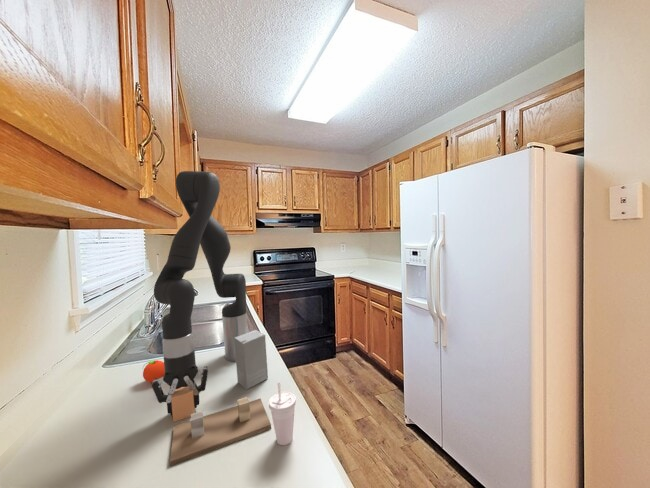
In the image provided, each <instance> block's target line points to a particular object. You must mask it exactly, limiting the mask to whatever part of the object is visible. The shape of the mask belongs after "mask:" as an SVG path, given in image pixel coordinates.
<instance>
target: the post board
mask: <svg viewBox="0 0 650 488" xmlns="http://www.w3.org/2000/svg"><path fill="white" fill-rule="evenodd" d="M236 402H237V405H235V406H233V407H229V408H225V409H223V410H219V411H216V412H213V413H210V414H207V415H203V413H204V412H203V411H204V410H201V411H195V413H193V414H191V416H190V420H188V421H184V422H181V423H179V424H175V425H174V426H173V433H172V434H173V435H172V443H171V451H170V459H169V463H170V465H169V466H170V467H172V466H174V465H177V464H179V463H182V462H185V461H187V460H190V459H193V458H196V457H198V456H201V455H204V454H206V453H209V452H211V451H214V450H216V449H219V448H222V447H225V446H228V445H230V444H233V443H235V442H239V441H242V440H244V439H247V438H249V437H252V436H254V435H257V434H259V433H262V432H265V431H268V430H270V429H272V424H271V421H270V419H269V416H268V414H267V411H266V409H265V406H264V403H263V400H262V399H261V397H260V398H257V399H254V400H251V401H250V400H249V397H248V396H245V397H242V398H240V399H237V401H236Z"/></svg>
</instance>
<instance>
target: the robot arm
mask: <svg viewBox="0 0 650 488" xmlns="http://www.w3.org/2000/svg"><path fill="white" fill-rule="evenodd" d="M175 178H176V179H175V187H176V188H175V189H176V192H177V195H178V197H179V199H180V201H181V203H182V205H183V207H184V209H185V211H186V213H187V215H188V217H189V218H188V219H187V220H186V221H185V222H184V224H183V225H182V226H181V227H180V228H179V229H178V231H177V232H176V233H175V235H174V237H173V239H172V242H171V245H170V249H169V252H168V256H167V261H166V262H165V264H164V266H163V267H162V269H161V271H160V273H159V275H158V277H157V278H156V282H155V284H154V286H153V295H154V299H155V300H156V302H158V303H159V304H163V305H169V306H170V307H169V313H167V314H166V315H164V316H163V318H162V319H161V329H162V355H163V362H164V368H165V374H164V377H162V378H159V379H157V378H156V379H154V380H153V383H151V387H152V389H153V390H152V391H153V392H154V395H155V397H156V399H157V402H158V403H159V404H162V403H166V410H167V414H168V415H169V414H170V416H173V414H172V403H171V395H173V394H174V391H175V389H179V388H181V387H187V386H189V388H190V390H192V389H193V394H194V408H195V409H196V408H198V406H199V405H200V393H201V392H204V391H205V390H206V386H207V381H208V374H209V369H208V368H209V367H208V366H207V365H206V366H205V365H204V366H203V367H198V366H197V363H196V352H195V340H194V339H195V338H194V336H193V329H192V313H193V307H194V303H195V299H196V298H195V297H196V291H195V288H194V285H193V283H191V282H190V280H188V279H184V276H185V274H186V273H187V272H190V271H192V270H194V268H195V265H196V263H197V258H198V254H199V249H200V248H201V249H202V252H203V255H204V258H205V259H206V261H207V265H208V267H209V271H210V274H211V278H212V282H213V285H214V289H215V292H216V294H217V296H218V297H220V298H222V299H225V298H226V299H228V298H235V301H234V302H233V303H230V304H228V305H225V306H224V307H222V309H221V316H222V317H221V318H222V330H223V342H224V343H223V344H224V357H225V360H226V361H229V362H236V354H235V341H234V338H235V337H238V336H240V335H243V334H246V333H248V332H249V331H248V329H249V328H248V326H249V325H248V314H247V285H246V284H247V283H246V276H245V275H244V274H243V273H225V272H224V266H225V263H226V262H227V260H228V258H229V255H230V253H231V243H230V240H229V236H228V233H227V231H226V230H225V228H224V227H223V226H222V225H221V224H220V222H219V221H217V219H216V218H214V217H213V215H212V213H213V211H214V209H215V206H216V204H217V202H218V198H219V195H220V190H221V189H220V188H221V184H220V181H219V178H218V176H217V175H216V174H215V173H214V172H210V171H199V170H195V171H194V170H192V171H191V170H184V171H180V172H178V173H177V175H176V177H175ZM197 374H199V377H201V380H200V385H197V383H196V380H195V378H196V376H197ZM163 383H165V384H166V385H168V386H169V389H168V392H167V394H164V390H163V388H162V387H163Z"/></svg>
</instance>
